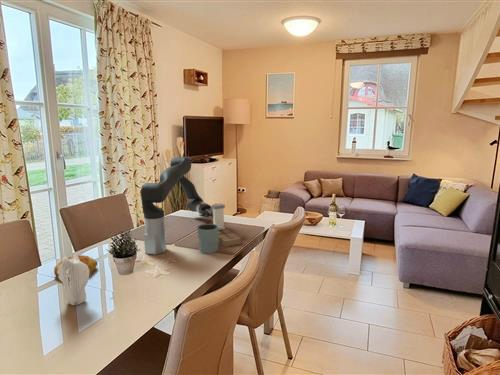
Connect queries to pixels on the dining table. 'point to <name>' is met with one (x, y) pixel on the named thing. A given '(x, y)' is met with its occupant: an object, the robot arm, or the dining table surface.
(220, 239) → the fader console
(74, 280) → the shell sculpture
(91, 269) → the croissant
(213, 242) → the teal cylindrical container
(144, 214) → the robot arm
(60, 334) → the dining table surface
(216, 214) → the white tall block
